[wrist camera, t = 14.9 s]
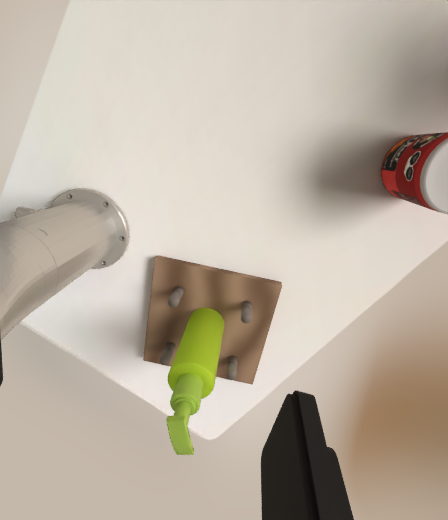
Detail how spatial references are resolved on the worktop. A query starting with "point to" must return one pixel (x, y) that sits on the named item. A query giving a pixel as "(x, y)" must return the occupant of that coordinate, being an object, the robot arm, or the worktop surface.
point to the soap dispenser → (193, 373)
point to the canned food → (419, 170)
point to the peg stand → (219, 299)
